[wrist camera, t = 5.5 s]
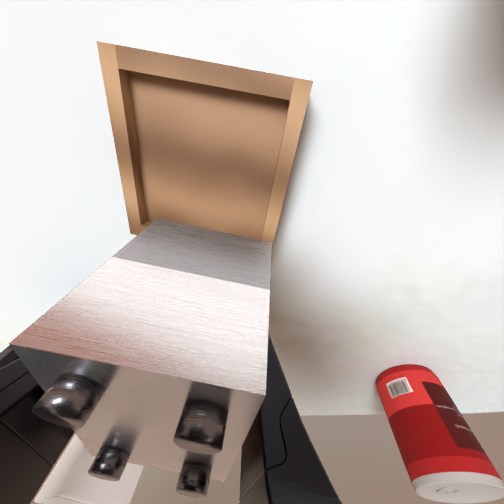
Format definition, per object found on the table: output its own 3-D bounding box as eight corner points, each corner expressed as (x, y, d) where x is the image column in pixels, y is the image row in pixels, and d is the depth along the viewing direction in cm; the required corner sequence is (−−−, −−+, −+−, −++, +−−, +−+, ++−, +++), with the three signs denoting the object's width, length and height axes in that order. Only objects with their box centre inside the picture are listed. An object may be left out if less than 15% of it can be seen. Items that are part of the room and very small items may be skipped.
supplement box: (149, 399, 42) (95, 519, 30) (109, 379, 39) (29, 502, 27) (175, 387, 38) (126, 518, 26) (132, 363, 36) (53, 498, 23)
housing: (245, 339, 13) (221, 506, 7) (164, 323, 13) (79, 478, 7) (272, 242, 9) (264, 434, 4) (157, 218, 9) (-30, 375, 4)
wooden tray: (270, 242, 21) (269, 259, 18) (148, 219, 21) (130, 233, 18) (306, 87, 14) (312, 81, 12) (128, 55, 14) (96, 41, 12)
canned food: (367, 390, 33) (404, 497, 24) (384, 360, 29) (436, 476, 19) (420, 395, 32) (479, 507, 23) (445, 365, 28) (530, 488, 19)
